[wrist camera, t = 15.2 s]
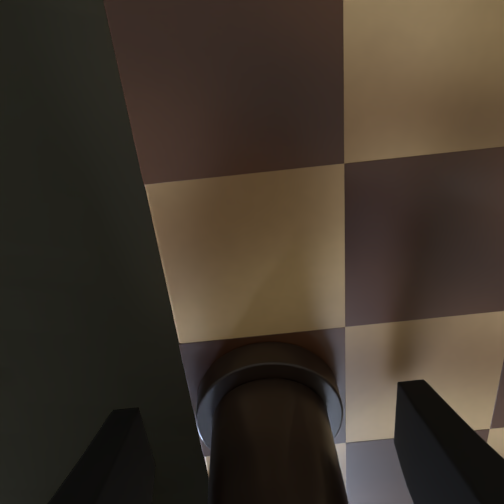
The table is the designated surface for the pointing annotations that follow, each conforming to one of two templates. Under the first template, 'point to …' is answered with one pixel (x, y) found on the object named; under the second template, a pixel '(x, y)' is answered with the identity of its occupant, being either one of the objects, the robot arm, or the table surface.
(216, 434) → the rook
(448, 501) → the robot arm
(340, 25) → the chessboard
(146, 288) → the table surface
